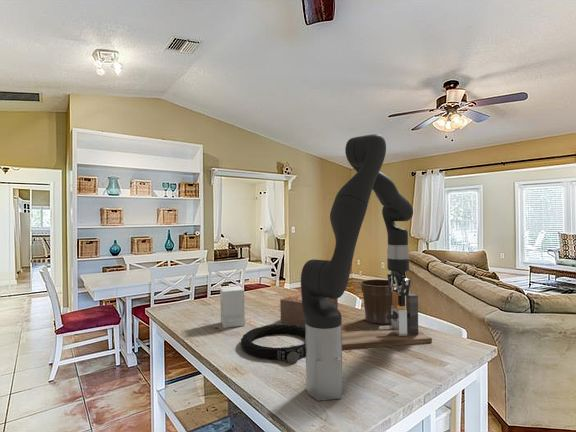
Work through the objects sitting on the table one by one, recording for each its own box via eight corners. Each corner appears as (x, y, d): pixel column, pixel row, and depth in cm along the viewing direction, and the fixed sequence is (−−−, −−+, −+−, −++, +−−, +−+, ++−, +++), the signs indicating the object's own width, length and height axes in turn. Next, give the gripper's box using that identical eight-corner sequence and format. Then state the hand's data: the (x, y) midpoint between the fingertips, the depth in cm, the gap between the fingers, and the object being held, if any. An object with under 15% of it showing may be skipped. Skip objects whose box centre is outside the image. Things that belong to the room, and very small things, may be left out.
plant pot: (353, 317, 151) (352, 280, 151) (382, 313, 158) (382, 277, 158) (376, 328, 136) (375, 287, 136) (408, 323, 143) (407, 283, 143)
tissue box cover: (310, 328, 138) (310, 303, 138) (280, 323, 146) (280, 299, 146) (337, 313, 160) (337, 291, 160) (310, 309, 167) (310, 288, 168)
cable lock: (305, 320, 138) (335, 346, 109) (305, 329, 138) (335, 358, 109) (235, 326, 130) (247, 357, 101) (235, 336, 130) (248, 370, 101)
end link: (407, 335, 122) (406, 294, 122) (382, 337, 121) (381, 295, 121) (399, 330, 128) (398, 290, 128) (375, 331, 127) (374, 291, 127)
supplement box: (241, 319, 151) (240, 285, 151) (245, 326, 142) (244, 289, 142) (220, 322, 148) (219, 287, 148) (223, 328, 139) (222, 291, 139)
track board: (431, 342, 120) (431, 297, 120) (337, 349, 115) (336, 302, 115) (414, 331, 132) (413, 290, 132) (327, 337, 127) (327, 295, 127)
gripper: (417, 259, 118) (418, 309, 118) (398, 254, 133) (399, 299, 132) (397, 259, 117) (398, 310, 117) (380, 255, 131) (380, 300, 131)
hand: (398, 304), depth 125 cm, fingers closed on end link, 4 cm apart
